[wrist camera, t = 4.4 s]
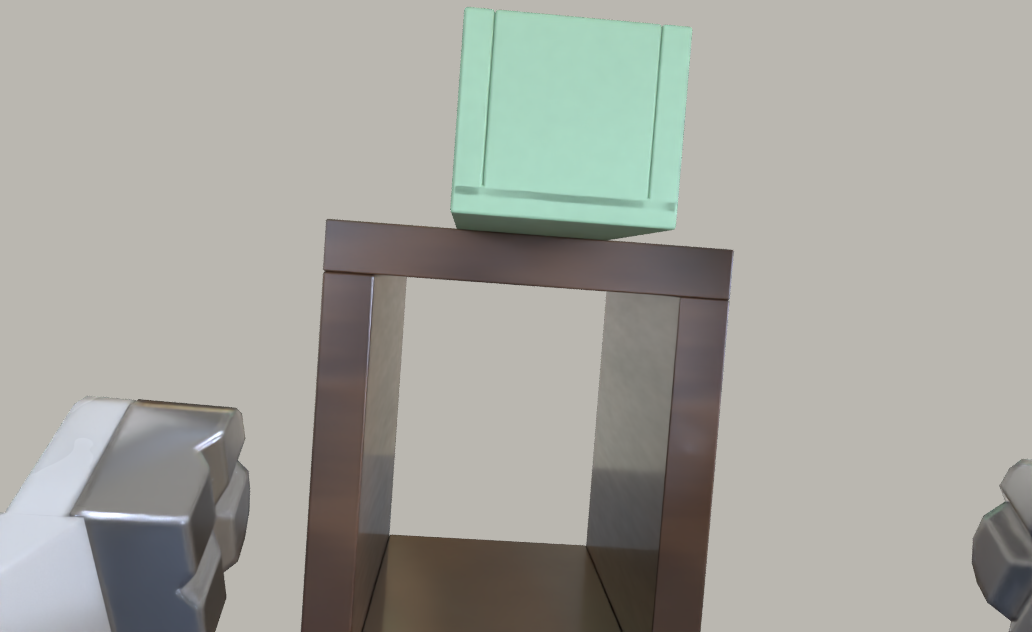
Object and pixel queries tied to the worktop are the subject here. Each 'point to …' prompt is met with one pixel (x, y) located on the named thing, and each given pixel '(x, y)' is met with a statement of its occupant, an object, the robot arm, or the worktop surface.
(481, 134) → the storage tray
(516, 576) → the shelf stand
